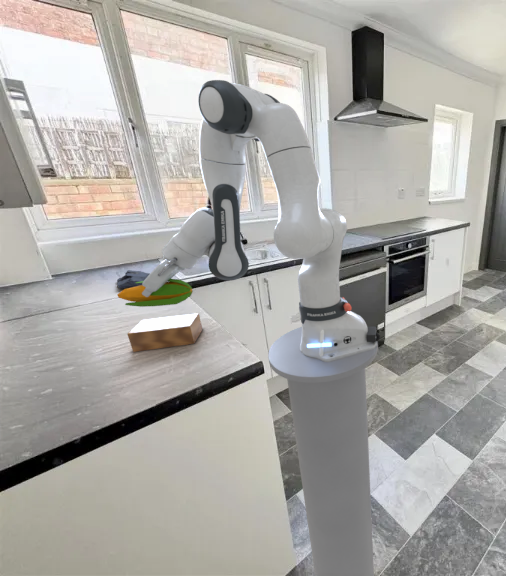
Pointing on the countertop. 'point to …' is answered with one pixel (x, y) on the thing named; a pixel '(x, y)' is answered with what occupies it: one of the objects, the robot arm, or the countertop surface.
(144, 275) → the dark slate chunk
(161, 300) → the corn
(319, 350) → the robot arm
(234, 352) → the countertop surface
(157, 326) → the block
